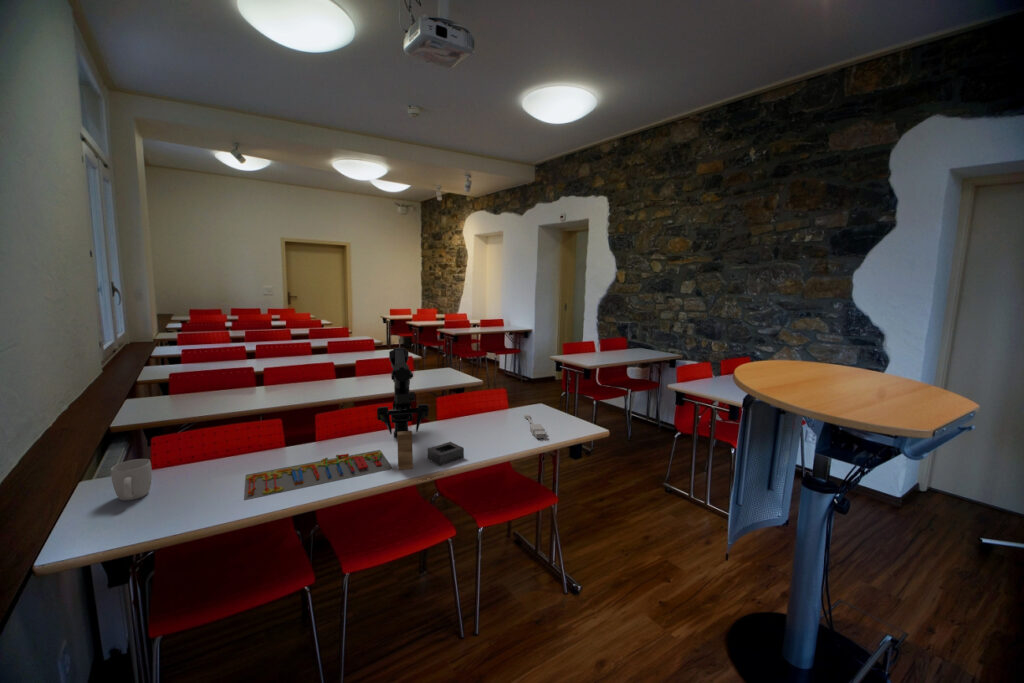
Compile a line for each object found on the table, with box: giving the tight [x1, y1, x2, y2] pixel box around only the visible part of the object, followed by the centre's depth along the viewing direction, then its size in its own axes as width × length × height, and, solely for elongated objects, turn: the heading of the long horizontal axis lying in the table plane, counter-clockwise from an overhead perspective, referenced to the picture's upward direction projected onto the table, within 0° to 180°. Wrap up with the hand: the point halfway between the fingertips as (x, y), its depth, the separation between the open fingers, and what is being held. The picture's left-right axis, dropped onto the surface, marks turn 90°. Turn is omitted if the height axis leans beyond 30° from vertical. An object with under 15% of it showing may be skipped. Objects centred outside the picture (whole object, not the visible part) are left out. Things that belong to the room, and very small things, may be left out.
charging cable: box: [523, 413, 547, 439], centre depth 196 cm, size 5×32×3 cm, turn 9°
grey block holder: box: [426, 441, 465, 467], centre depth 159 cm, size 9×11×4 cm
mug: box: [110, 458, 153, 502], centre depth 127 cm, size 13×9×10 cm
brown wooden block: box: [396, 430, 414, 471], centre depth 151 cm, size 3×5×13 cm, turn 107°
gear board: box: [243, 449, 394, 501], centre depth 147 cm, size 45×2×19 cm
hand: (404, 432), depth 154 cm, fingers open, 9 cm apart
